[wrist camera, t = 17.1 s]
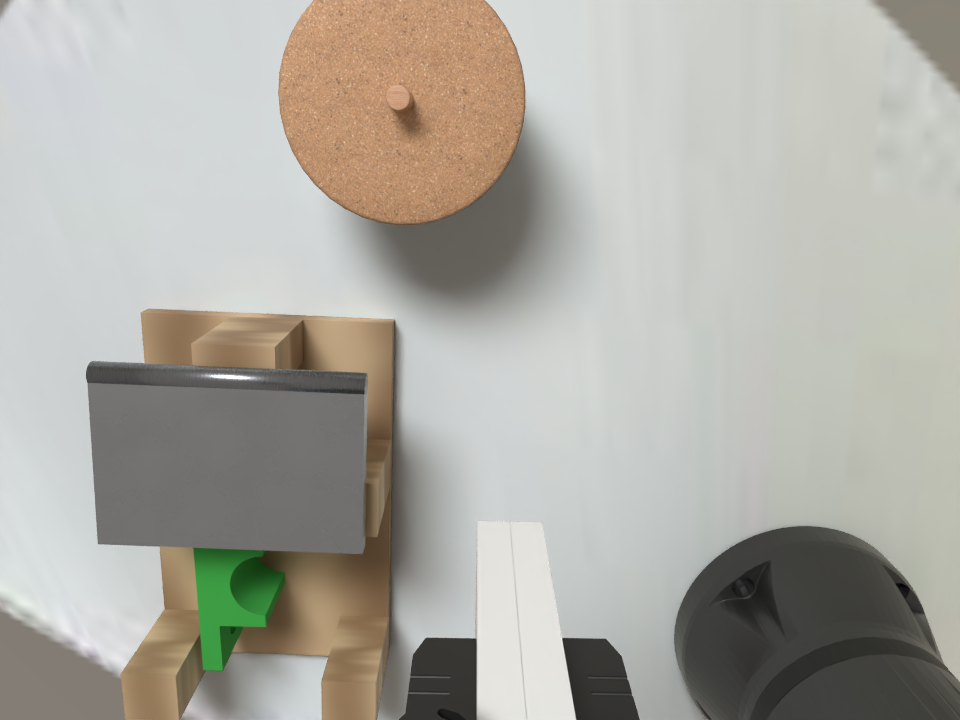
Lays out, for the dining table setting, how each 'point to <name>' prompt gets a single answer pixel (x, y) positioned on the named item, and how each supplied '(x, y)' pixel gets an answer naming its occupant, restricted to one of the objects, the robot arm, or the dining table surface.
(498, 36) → the lidded jar
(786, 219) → the dining table surface
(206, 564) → the pipe clamp
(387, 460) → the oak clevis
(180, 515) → the plate
